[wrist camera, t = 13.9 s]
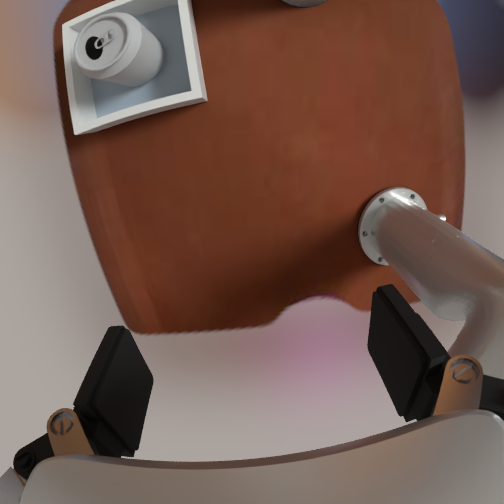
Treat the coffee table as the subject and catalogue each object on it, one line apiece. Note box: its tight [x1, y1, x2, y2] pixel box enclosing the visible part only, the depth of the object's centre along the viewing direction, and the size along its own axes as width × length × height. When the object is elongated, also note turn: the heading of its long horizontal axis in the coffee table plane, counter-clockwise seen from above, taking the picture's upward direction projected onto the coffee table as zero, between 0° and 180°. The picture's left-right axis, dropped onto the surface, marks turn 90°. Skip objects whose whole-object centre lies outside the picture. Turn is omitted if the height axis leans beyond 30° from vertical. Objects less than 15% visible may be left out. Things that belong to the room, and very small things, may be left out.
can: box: [73, 12, 165, 87], centre depth 24 cm, size 8×8×12 cm
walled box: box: [62, 0, 208, 135], centre depth 27 cm, size 16×16×6 cm
